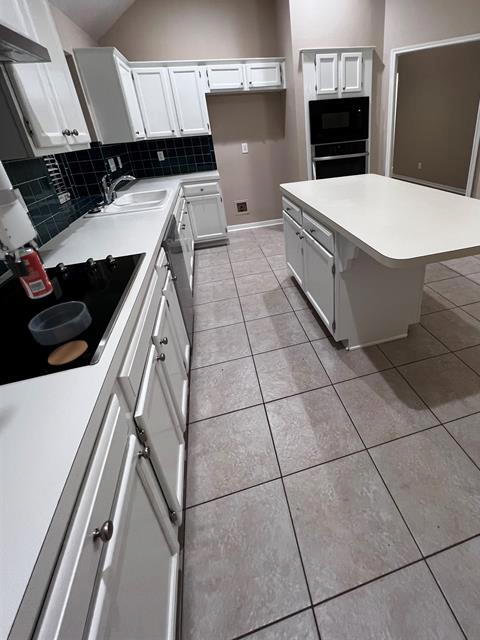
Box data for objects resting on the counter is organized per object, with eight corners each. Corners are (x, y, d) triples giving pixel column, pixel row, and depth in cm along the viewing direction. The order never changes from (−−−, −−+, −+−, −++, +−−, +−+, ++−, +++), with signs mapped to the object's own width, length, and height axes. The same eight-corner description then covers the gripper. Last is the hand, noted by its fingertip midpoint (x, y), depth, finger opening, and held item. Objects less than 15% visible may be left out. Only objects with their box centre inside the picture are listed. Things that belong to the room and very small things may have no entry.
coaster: (41, 368, 79) (40, 367, 79) (59, 344, 87) (59, 343, 87) (78, 362, 80) (77, 361, 80) (93, 339, 88) (92, 338, 88)
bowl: (30, 353, 85) (21, 337, 83) (44, 324, 97) (36, 309, 95) (88, 336, 89) (81, 321, 87) (95, 311, 101) (88, 296, 99)
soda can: (33, 290, 82) (12, 249, 77) (56, 286, 84) (37, 245, 79) (25, 301, 78) (2, 257, 73) (49, 296, 79) (28, 253, 74)
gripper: (2, 192, 77) (34, 258, 85) (-56, 212, 62) (-11, 290, 70) (35, 188, 78) (63, 254, 86) (-14, 207, 63) (25, 285, 71)
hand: (29, 270), depth 78 cm, fingers closed on soda can, 5 cm apart
